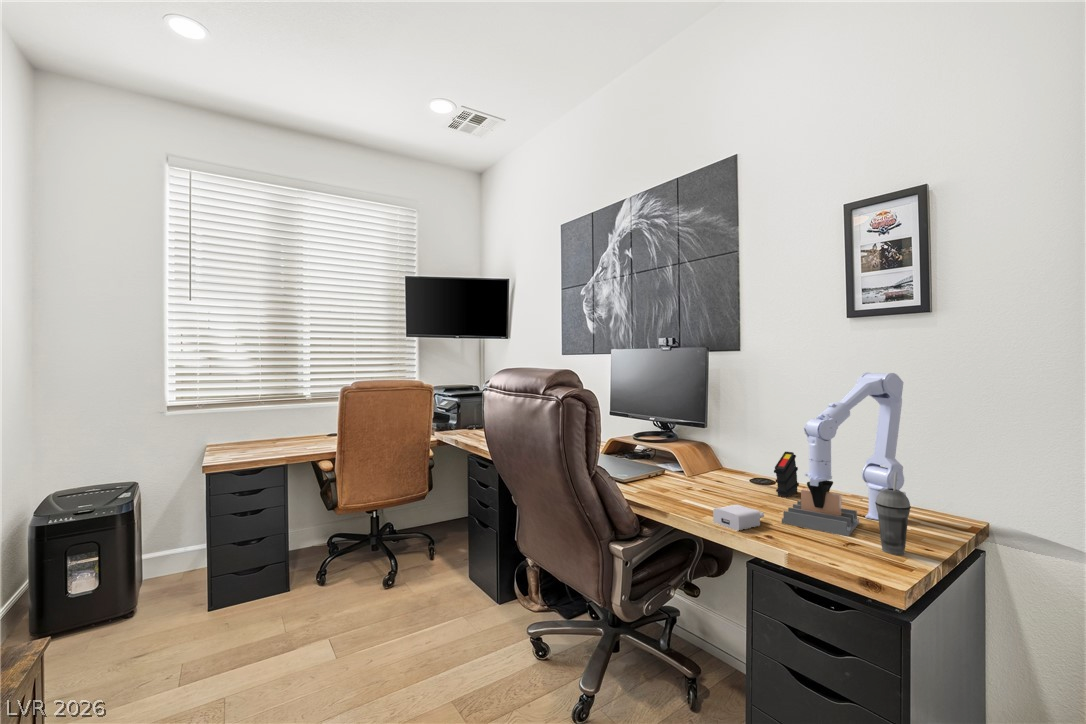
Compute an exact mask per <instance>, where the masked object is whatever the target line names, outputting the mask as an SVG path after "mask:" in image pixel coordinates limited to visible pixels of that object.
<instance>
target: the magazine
mask: <svg viewBox="0 0 1086 724" xmlns="http://www.w3.org/2000/svg"><path fill="white" fill-rule="evenodd" d="M796 457H797V455H796V454H795V453H794V452H793V451H784V453H783V454H782V455H781V457H780V459H779V460H778V462H777V463H776V464H775V466H774V470H773V473H774V474H775V476H776V479H775V483H776V485H777V489H776V490H775V492H776V493H777V496H778V497H780V496H781V497H780V498H785V497H786V498H788V497H791V496H793V495H795V494H796V493H798V487H799V486H800V482H798V474H797V473H798V470H799V468H798V466H797V465H796Z"/></svg>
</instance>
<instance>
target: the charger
mask: <svg viewBox="0 0 1086 724" xmlns="http://www.w3.org/2000/svg"><path fill="white" fill-rule="evenodd" d="M712 511H713V513H712V514H713V515H712V516H713V517H712V521H713V523H714V524H716V523H718V524H720V525H719V526H721V525H723V526H722V527H724V526H725V527H724V528H727V527H728V528H727V529H729V528H731V529H730V530H732V529H734V530H733V531H735V530H737V531H736V532H739V530H740V531H744V530H743V529H745V530H748V529H747V528H749V529H752V528H751V527H754V528H757V527H756V526H758V527H760V526H761V518H764V517H765V515H764V513H765V512H763V511H760V510H758V509H755V508H750V507H746V506H743V505H740V504H733V505H727V506H721V507H715V508H713V510H712ZM718 524H717V525H718Z"/></svg>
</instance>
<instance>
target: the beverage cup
mask: <svg viewBox="0 0 1086 724" xmlns="http://www.w3.org/2000/svg"><path fill="white" fill-rule="evenodd" d="M896 483H897V472H895V476H894V488H893V489H892V488H888V489H884V490H882V491H881V492H880V493H879V494H878V496H877V498H876V502H875V504H876V508H877V512H878V519H879V520H878V527H879V528H878V529H879V535H880V536H879V537H880V544H881V551H882V552H884V553H886V554H890V555H892V556H893V555H896V556H902V555H905V550H906V549H905V548H906V544H907V533H908V532H907V531H908V523H909V516H910V512H911V503H910V499H909V498H908V497H907V494H906V495H905V494H904V493H903V492H904V491H902V490H900V491H899V490H897V489H896ZM901 491H902V492H901Z"/></svg>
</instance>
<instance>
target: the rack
mask: <svg viewBox="0 0 1086 724" xmlns="http://www.w3.org/2000/svg"><path fill="white" fill-rule="evenodd" d="M796 502H797V503H796V504H795V503H793V504H792V507H789V506H788V507H787V509H788V510H783V512H782V513H783V514H782V515H783V516H782V517H783V518H781V524H783V523H785V524H784V525H788V524H789V526H794V527H798V526H799V527H800V528H805V529H810V530H814V531H820V532H825V533H830V534H833V535H834V534H835V535H840V536H845V537H850V535H851V534H852V533H853V532H854V530H855V529H856V528H857V526H858V525H859V524H860V519H859V518H858V510H854V509H850V508H843V507H841V516H836V515H830V514H824V513H819V512H813V511H807V510H802V509H801V500H797V501H796ZM799 527H798V528H799Z"/></svg>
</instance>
